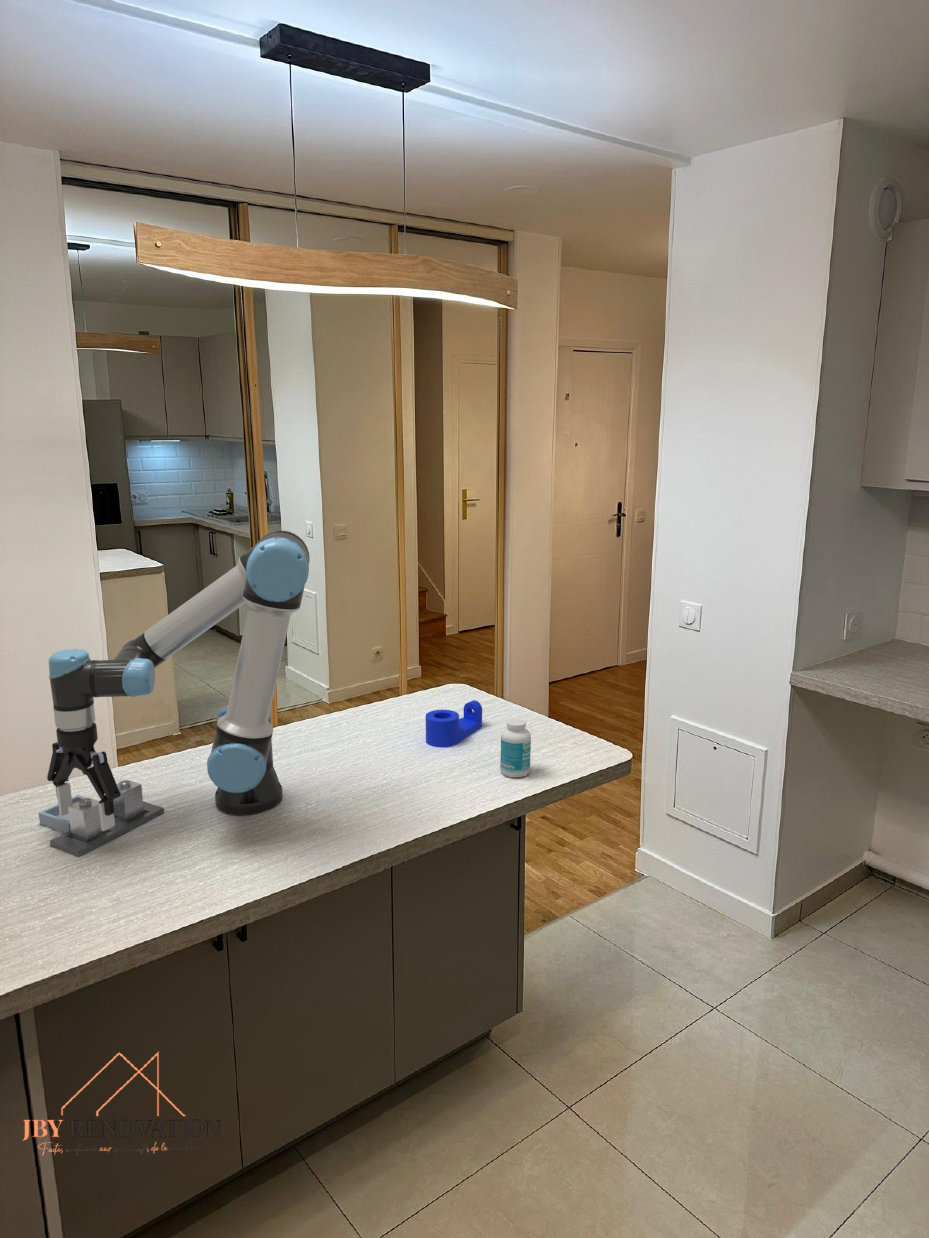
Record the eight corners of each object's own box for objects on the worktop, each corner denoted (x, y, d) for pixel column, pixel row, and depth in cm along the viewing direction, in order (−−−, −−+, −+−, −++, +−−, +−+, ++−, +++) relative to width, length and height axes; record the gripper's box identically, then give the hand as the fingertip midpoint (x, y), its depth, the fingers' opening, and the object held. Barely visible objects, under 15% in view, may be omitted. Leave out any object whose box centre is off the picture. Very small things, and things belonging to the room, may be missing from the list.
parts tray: (109, 815, 190) (108, 804, 190) (69, 834, 182) (68, 823, 181) (79, 805, 195) (78, 794, 194) (39, 823, 187) (38, 812, 186)
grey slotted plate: (136, 803, 196) (135, 798, 196) (163, 812, 192) (163, 807, 192) (50, 845, 177) (49, 840, 177) (78, 856, 173) (78, 851, 173)
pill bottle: (528, 780, 209) (529, 728, 205) (498, 777, 210) (498, 726, 207) (531, 767, 216) (533, 717, 212) (502, 765, 217) (503, 715, 214)
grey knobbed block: (144, 817, 190) (141, 780, 188) (126, 826, 186) (122, 789, 184) (129, 812, 192) (126, 776, 190) (111, 821, 188) (107, 784, 186)
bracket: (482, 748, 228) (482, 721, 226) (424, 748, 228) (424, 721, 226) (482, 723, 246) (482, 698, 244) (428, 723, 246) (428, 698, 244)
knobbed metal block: (106, 836, 181) (102, 798, 179) (87, 846, 177) (82, 808, 175) (91, 831, 184) (87, 793, 181) (72, 840, 180) (67, 802, 177)
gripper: (132, 730, 171) (142, 826, 177) (53, 708, 183) (64, 800, 188) (101, 742, 165) (111, 842, 170) (21, 719, 177) (33, 813, 182)
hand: (87, 820), depth 179 cm, fingers open, 12 cm apart
